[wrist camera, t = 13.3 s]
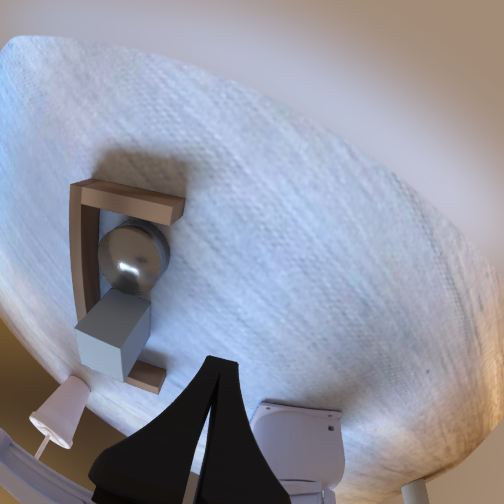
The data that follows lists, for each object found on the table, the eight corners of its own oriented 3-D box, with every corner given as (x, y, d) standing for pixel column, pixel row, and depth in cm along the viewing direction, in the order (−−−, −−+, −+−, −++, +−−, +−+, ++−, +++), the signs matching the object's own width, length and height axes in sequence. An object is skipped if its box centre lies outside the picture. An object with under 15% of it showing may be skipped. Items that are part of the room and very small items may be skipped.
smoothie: (61, 381, 29) (19, 446, 16) (62, 360, 27) (9, 434, 14) (96, 405, 30) (59, 476, 17) (101, 387, 28) (56, 469, 15)
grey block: (151, 302, 21) (120, 348, 16) (149, 336, 23) (123, 382, 17) (111, 288, 21) (73, 328, 16) (112, 322, 23) (81, 363, 17)
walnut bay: (185, 198, 18) (172, 207, 15) (165, 377, 25) (158, 394, 23) (90, 178, 18) (70, 184, 15) (97, 351, 25) (87, 365, 22)
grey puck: (174, 227, 19) (161, 239, 17) (167, 286, 21) (155, 303, 18) (116, 212, 19) (98, 221, 16) (113, 269, 21) (98, 283, 18)
